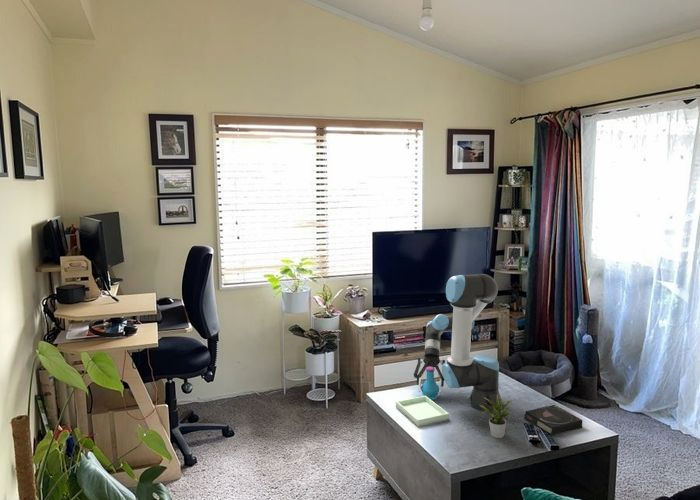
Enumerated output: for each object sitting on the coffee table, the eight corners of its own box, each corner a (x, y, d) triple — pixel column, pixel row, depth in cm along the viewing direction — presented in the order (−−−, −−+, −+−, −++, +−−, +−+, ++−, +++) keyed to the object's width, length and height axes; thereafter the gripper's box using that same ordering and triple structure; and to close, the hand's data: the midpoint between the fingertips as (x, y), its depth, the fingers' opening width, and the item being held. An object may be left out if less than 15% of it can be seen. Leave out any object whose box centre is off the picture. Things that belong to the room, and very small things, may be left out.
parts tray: (448, 419, 232) (448, 413, 232) (417, 426, 226) (417, 420, 226) (425, 401, 251) (425, 395, 251) (395, 407, 246) (395, 401, 245)
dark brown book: (524, 419, 232) (524, 411, 231) (554, 412, 238) (554, 404, 237) (550, 436, 216) (550, 427, 216) (582, 428, 222) (582, 419, 222)
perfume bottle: (441, 400, 252) (441, 370, 250) (423, 401, 252) (423, 371, 250) (437, 392, 261) (437, 364, 259) (419, 393, 261) (419, 364, 259)
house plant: (502, 423, 228) (503, 388, 225) (523, 437, 215) (524, 400, 213) (475, 429, 223) (475, 393, 220) (495, 444, 210) (495, 406, 207)
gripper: (454, 354, 266) (452, 396, 253) (411, 352, 271) (407, 393, 258) (453, 348, 261) (452, 390, 248) (410, 345, 266) (406, 387, 253)
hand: (429, 391), depth 253 cm, fingers open, 9 cm apart
